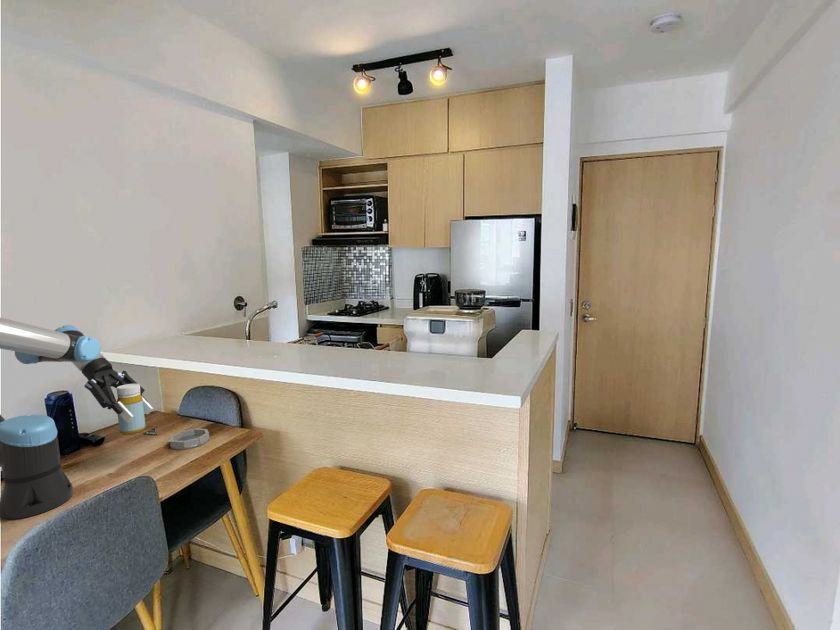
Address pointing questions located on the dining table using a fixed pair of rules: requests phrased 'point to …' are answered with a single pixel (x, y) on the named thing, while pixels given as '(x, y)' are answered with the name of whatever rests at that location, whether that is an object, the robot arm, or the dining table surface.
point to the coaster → (189, 439)
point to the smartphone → (150, 432)
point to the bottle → (131, 409)
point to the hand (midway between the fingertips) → (140, 415)
